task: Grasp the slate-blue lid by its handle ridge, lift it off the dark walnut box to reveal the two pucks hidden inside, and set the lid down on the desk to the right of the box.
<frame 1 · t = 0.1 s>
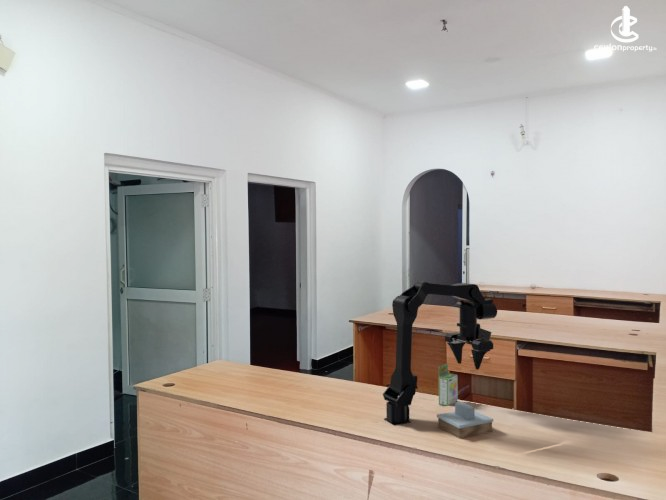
hand: (468, 366, 175), 15 cm above the table, fingers open, 9 cm apart
ink box: (448, 404, 182), on the table
puck cream: (470, 427, 157), resting on box
puck terracotta: (458, 430, 154), resting on box
box: (464, 430, 156), on the table
lid: (464, 419, 155), point 3 cm above the table, touching box
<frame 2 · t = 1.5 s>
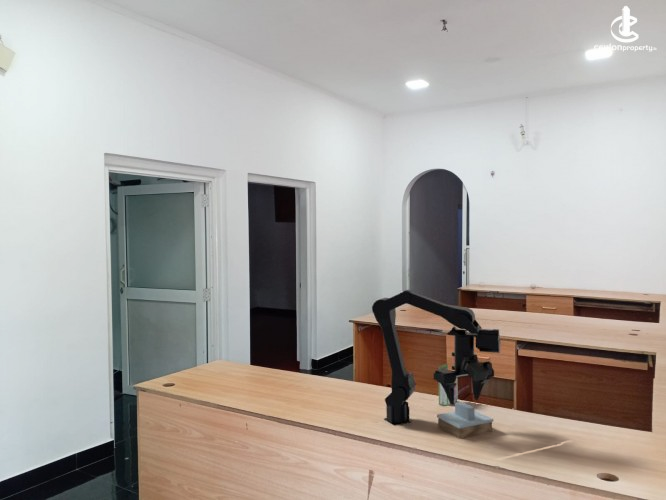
hand: (464, 402, 155), 9 cm above the table, fingers open, 9 cm apart
nothing on the table moved.
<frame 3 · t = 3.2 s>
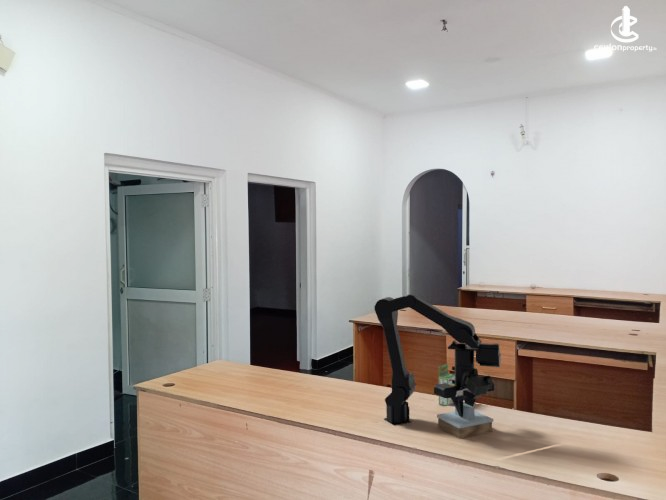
hand: (464, 416, 155), 5 cm above the table, fingers closed on lid, 2 cm apart
lid: (464, 419, 155), point 3 cm above the table, touching box, gripper
everything else where it was.
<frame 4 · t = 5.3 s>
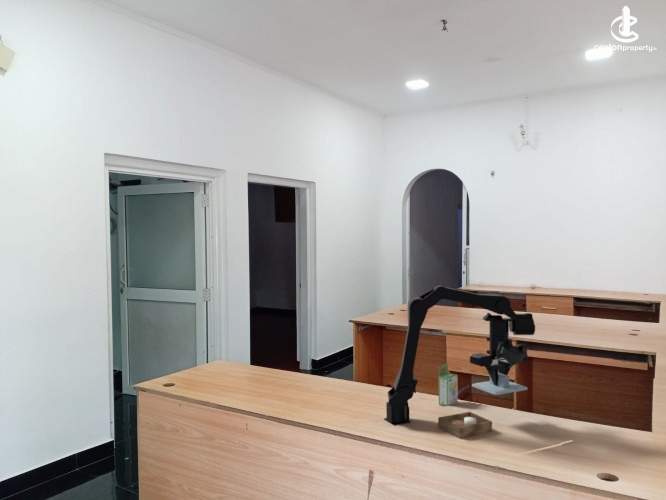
hand: (499, 384, 162), 12 cm above the table, fingers closed on lid, 2 cm apart
lid: (499, 388, 162), point 11 cm above the table, touching gripper
everything else where it was.
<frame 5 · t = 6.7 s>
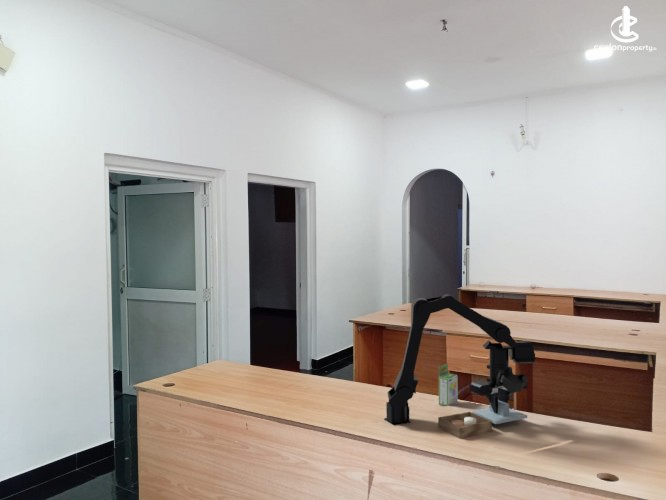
hand: (499, 412, 162), 3 cm above the table, fingers closed on lid, 2 cm apart
lid: (499, 415, 162), point 2 cm above the table, touching gripper
everything else where it was.
when the fingers open (2 cm above the table, at t = 7.6 s): lid drops 2 cm, on the table.
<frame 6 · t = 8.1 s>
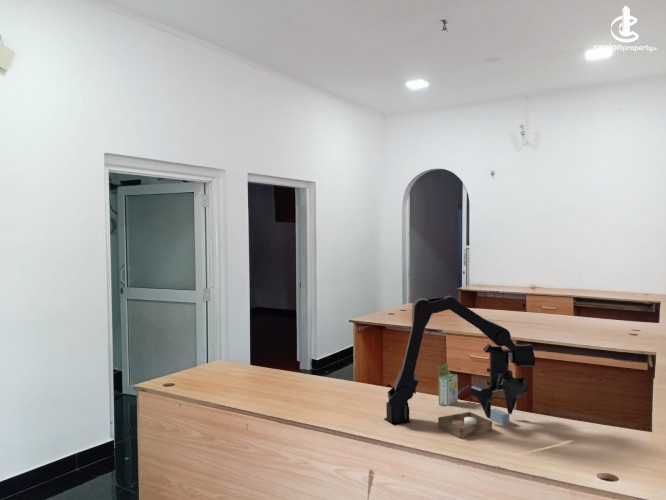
hand: (499, 415, 162), 2 cm above the table, fingers open, 8 cm apart
lid: (499, 425, 162), on the table
everything else where it was.
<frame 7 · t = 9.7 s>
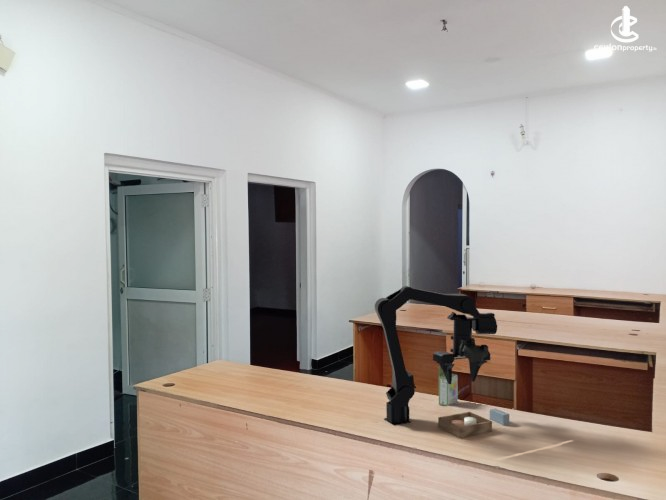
hand: (461, 382, 165), 12 cm above the table, fingers open, 9 cm apart
nothing on the table moved.
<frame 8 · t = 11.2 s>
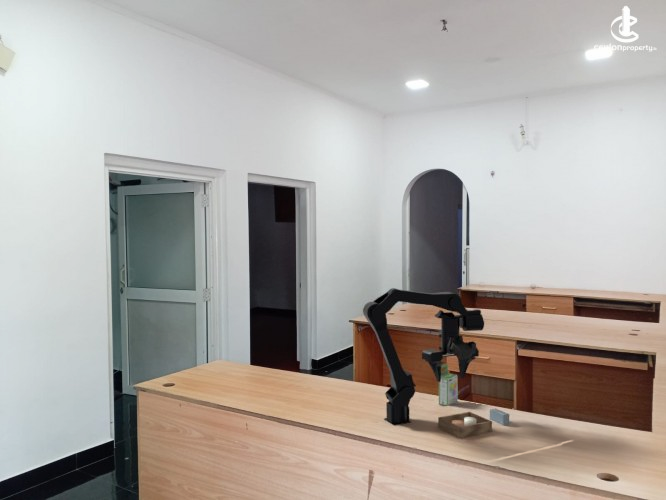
hand: (450, 380, 166), 13 cm above the table, fingers open, 9 cm apart
nothing on the table moved.
at the end: lid inside the target area (0.1 cm from its centre), on the table; lid touching table; lid tilted 0° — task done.
